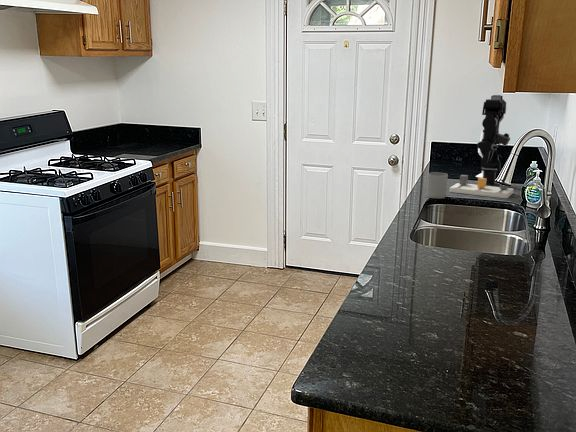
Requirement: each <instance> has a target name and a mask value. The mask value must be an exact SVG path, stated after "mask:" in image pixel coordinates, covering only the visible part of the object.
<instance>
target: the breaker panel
mask: <svg viewBox="0 0 576 432" xmlns="http://www.w3.org/2000/svg"><path fill="white" fill-rule="evenodd" d="M477 185H478V184H474V183H473V184H472V183H468V184H467V185H462V184H459V182H457V183H455V184H454V185H452V186H450V187H449V190H448V191H449V193H457V194H463V195H465V194H466V195H474V196H482V197H488V198H489V197H490V198H497V199H508V198H509V197H510V196H511V195H513V194H514V188H511V187H508V189H500V186H491V185H486V187H485V188H477Z"/></svg>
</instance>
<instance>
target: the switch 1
mask: <svg viewBox="0 0 576 432" xmlns="http://www.w3.org/2000/svg"><path fill="white" fill-rule="evenodd" d="M458 183H459V184H462V185H467V184H469V175H468V174H461V175H459V182H458Z"/></svg>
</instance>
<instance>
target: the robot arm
mask: <svg viewBox="0 0 576 432" xmlns="http://www.w3.org/2000/svg"><path fill="white" fill-rule="evenodd" d="M503 97H504V96H503V95H501V94H494V95H491V96H490V98H488V99H485V101H483V106H482V113H481V115H482V116H485V117H484V118H483V120H482V122H481V123H482V124H481V125H482V127H483V129H482V130H483V132H484V134H483V139H482V141H480V140H479V141H478V142H477V144H476V149H478V148H479V149H480V151H481V153H482V156H483V158H482V157H481V159H480V169H479V171H481V172H482V171H483V178H487V180H486V185H496V183H495V181H496V174H497V173H499V172H501V167H502V166H501V165H502V161H500V159H499V157H500V156H499V154H498V151H497V148H498V147H499V146H500V145H503V146H507V145H508V144H509V142H510V141H511V137H510V134H509V133H507V132H505V133H504V134H502V133H500V130H499V129H500V124H501V122H502V121H503V119H504V118H505V115H506V112H507V102H506V101H505V99H503Z"/></svg>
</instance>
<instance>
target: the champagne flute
mask: <svg viewBox="0 0 576 432" xmlns="http://www.w3.org/2000/svg"><path fill="white" fill-rule="evenodd" d="M483 130H484V129H482V130H481V132H480V138H479V142H480V141H482V139H483V134H484V132H483ZM477 153H478V155H479V156H480V157H481V158H483V156H482V153H481V151H480V149H479V148H477ZM475 177H476V178H483V171H481V173H479V174H477V175H475Z"/></svg>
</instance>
